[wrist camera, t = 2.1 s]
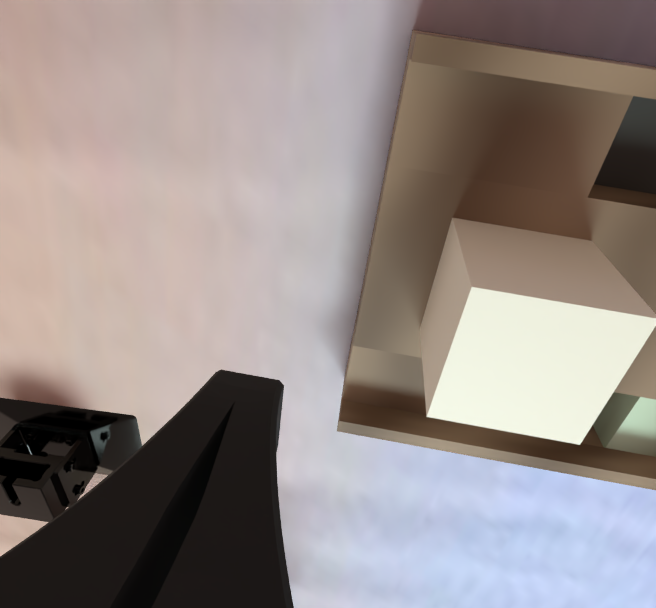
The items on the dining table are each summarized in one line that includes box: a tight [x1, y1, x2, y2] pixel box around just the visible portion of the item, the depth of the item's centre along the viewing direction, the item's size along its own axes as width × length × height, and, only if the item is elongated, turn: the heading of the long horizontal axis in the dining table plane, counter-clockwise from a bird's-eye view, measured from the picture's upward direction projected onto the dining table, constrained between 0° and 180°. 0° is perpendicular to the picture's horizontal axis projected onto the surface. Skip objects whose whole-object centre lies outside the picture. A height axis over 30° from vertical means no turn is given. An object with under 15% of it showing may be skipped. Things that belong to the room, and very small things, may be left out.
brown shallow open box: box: [337, 30, 656, 490], centre depth 16 cm, size 18×14×3 cm
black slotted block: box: [0, 398, 142, 522], centre depth 25 cm, size 12×7×5 cm, turn 87°
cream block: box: [420, 218, 656, 445], centre depth 14 cm, size 4×4×4 cm
